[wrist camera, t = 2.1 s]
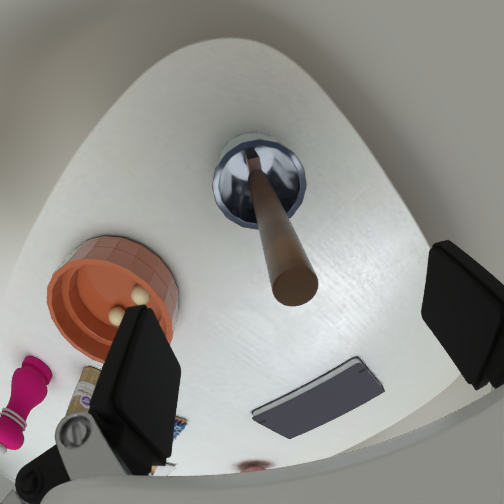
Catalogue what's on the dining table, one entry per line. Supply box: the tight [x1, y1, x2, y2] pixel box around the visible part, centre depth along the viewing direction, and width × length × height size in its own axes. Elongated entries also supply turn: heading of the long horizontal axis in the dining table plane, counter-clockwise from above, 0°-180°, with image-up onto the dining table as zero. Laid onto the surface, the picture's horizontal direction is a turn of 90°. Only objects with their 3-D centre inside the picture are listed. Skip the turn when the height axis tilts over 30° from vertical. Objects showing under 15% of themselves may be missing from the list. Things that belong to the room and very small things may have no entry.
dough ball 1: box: [108, 307, 125, 326], centre depth 34 cm, size 2×2×2 cm
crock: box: [212, 132, 307, 230], centre depth 26 cm, size 7×7×8 cm
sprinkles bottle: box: [66, 367, 100, 416], centre depth 36 cm, size 5×5×13 cm
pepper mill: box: [0, 356, 52, 454], centre depth 33 cm, size 7×7×20 cm
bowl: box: [47, 236, 179, 364], centre depth 32 cm, size 15×15×6 cm
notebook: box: [252, 357, 385, 439], centre depth 47 cm, size 13×2×21 cm
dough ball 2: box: [131, 285, 151, 305], centre depth 33 cm, size 2×2×2 cm
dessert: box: [151, 464, 176, 476], centre depth 57 cm, size 12×12×5 cm
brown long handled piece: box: [245, 149, 318, 306], centre depth 19 cm, size 4×2×21 cm, turn 11°
